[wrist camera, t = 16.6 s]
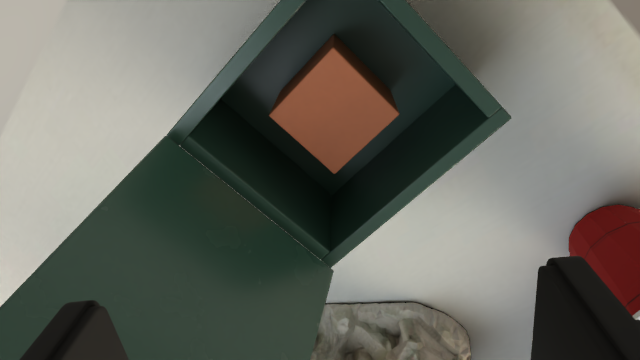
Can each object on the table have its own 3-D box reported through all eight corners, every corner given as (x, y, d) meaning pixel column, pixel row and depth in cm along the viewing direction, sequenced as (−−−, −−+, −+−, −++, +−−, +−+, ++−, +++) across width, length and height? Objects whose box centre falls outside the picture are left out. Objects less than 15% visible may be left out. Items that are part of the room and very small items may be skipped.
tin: (340, -62, 25) (340, -72, 18) (470, 80, 29) (512, 118, 22) (207, 95, 30) (166, 135, 23) (332, 203, 33) (330, 268, 26)
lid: (-77, 386, 12) (-82, 393, 12) (257, 563, 15) (245, 564, 15) (166, 134, 22) (159, 142, 23) (334, 270, 25) (326, 275, 26)
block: (279, 92, 29) (268, 115, 24) (334, 33, 27) (332, 46, 22) (335, 143, 30) (334, 175, 25) (390, 90, 28) (400, 114, 24)
